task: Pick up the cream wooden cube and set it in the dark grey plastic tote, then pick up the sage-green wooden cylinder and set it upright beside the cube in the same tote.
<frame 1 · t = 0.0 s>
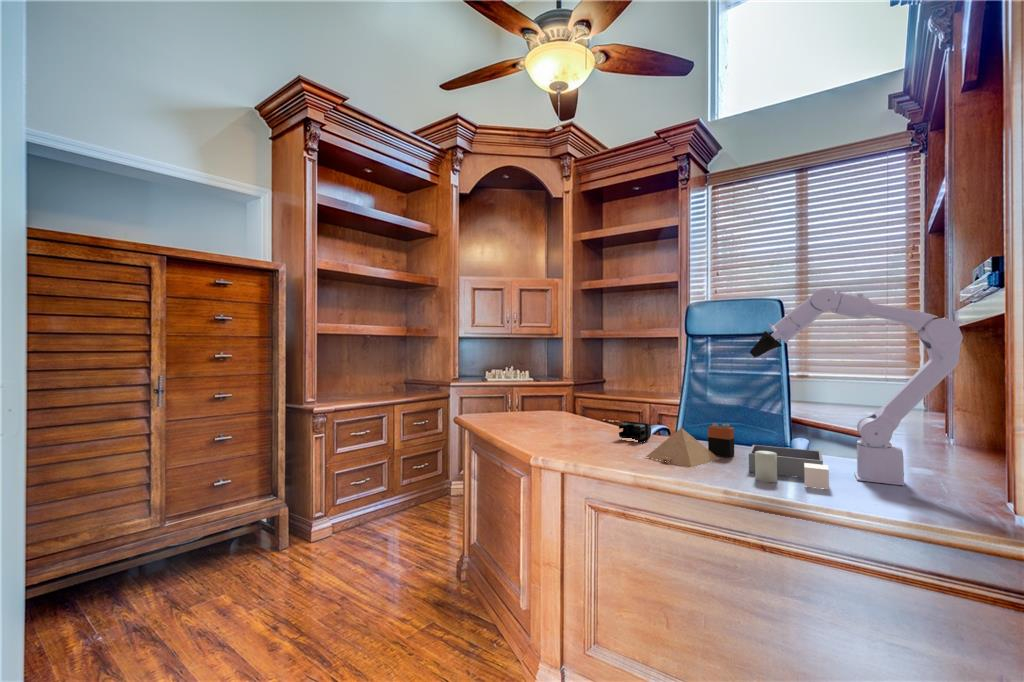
hand: (753, 354, 137), 32 cm above the table, tool tilted 50°, fingers open, 7 cm apart
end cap: (634, 441, 176), on the table
tote: (785, 470, 132), on the table
battery: (721, 455, 151), on the table
model pyramid: (681, 460, 147), on the table
cube: (816, 486, 117), on the table
cylinder: (766, 479, 123), on the table
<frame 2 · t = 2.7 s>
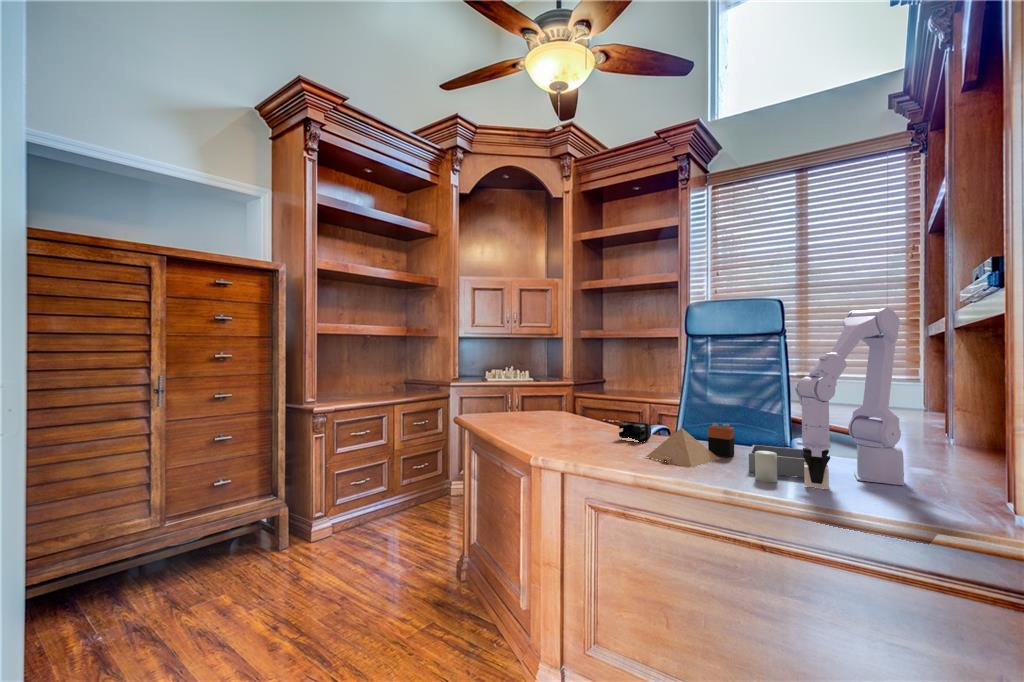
hand: (816, 480, 117), 1 cm above the table, tool pointing down, fingers closed on cube, 5 cm apart
cube: (816, 486, 117), on the table, touching gripper
everything else where it was.
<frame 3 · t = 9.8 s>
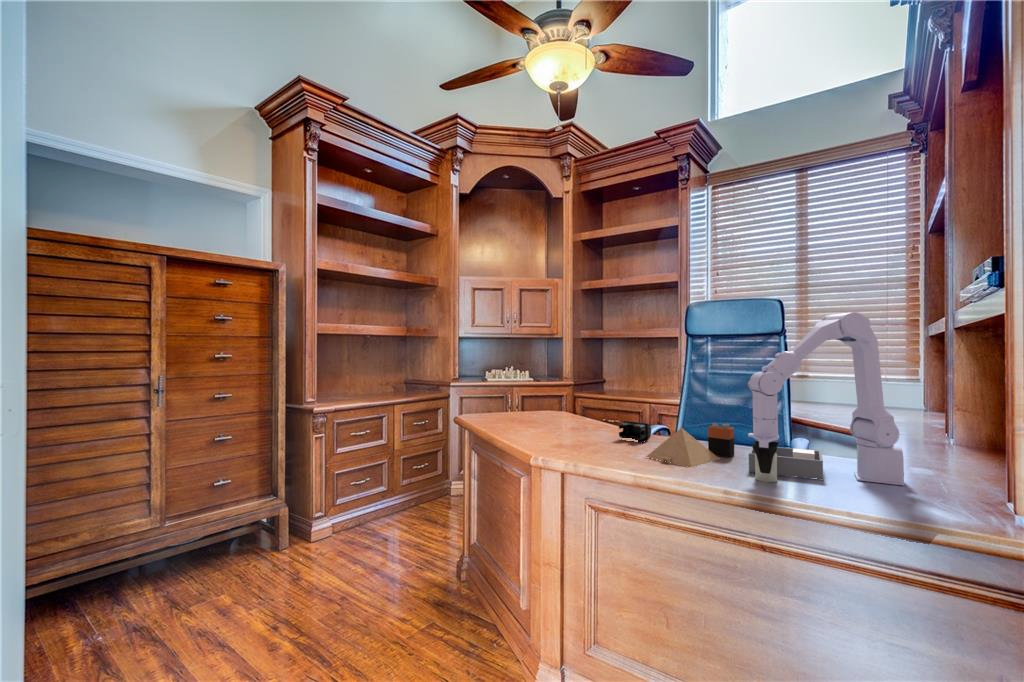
hand: (766, 470, 123), 2 cm above the table, tool pointing down, fingers closed on cylinder, 5 cm apart
cube: (803, 469, 130), point 1 cm above the table, touching tote
cylinder: (766, 479, 123), on the table, touching gripper
everything else where it was.
when the fingers open (4 cm above the table, at t = 13.6 s): cylinder drops 1 cm, resting on tote.
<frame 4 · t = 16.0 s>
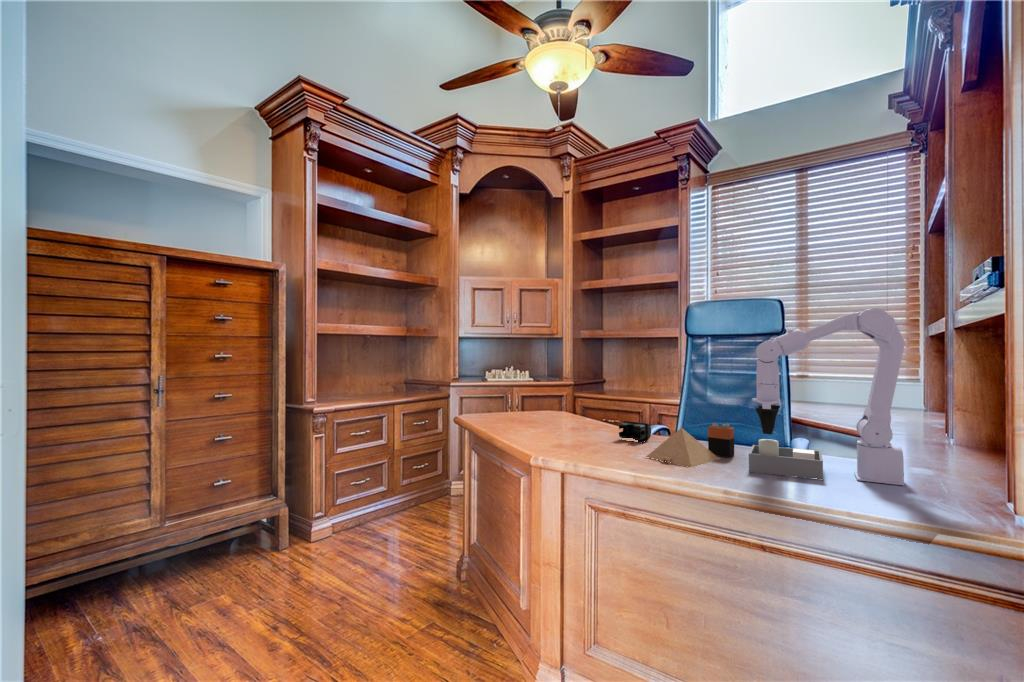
hand: (768, 431, 134), 10 cm above the table, tool pointing down, fingers open, 7 cm apart
cylinder: (768, 465, 134), point 1 cm above the table, touching tote
everything else where it was.
at the end: cube inside the target area on the tote (4.4 cm from its centre), point 0.8 cm above the tote's base; cylinder inside the target area on the tote (4.0 cm from its centre), point 0.8 cm above the tote's base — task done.
